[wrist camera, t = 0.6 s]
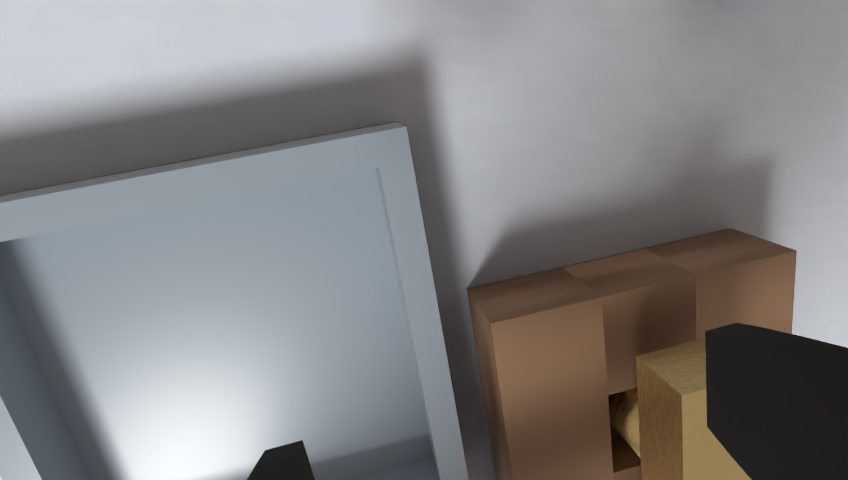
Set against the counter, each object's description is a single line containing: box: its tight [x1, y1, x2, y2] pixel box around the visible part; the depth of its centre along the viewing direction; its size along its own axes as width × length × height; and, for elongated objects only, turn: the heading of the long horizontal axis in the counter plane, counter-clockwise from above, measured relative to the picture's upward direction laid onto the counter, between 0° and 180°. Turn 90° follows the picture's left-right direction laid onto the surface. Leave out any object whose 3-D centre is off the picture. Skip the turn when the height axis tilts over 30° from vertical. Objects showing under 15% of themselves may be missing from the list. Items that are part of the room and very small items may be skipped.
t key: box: [608, 338, 752, 480], centre depth 18 cm, size 8×3×7 cm, turn 10°
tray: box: [0, 122, 469, 480], centre depth 17 cm, size 14×14×2 cm
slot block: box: [467, 229, 796, 480], centre depth 20 cm, size 11×11×3 cm
